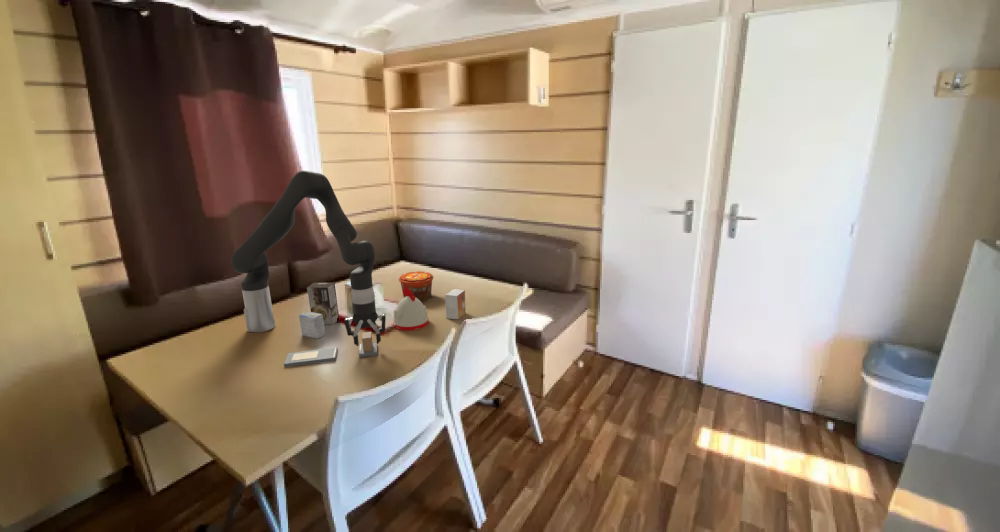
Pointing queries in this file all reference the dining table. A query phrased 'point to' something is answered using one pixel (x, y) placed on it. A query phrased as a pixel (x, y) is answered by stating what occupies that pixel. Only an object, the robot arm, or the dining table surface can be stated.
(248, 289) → the robot arm
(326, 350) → the ticket
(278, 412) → the dining table surface
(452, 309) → the small box
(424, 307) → the kitchen timer
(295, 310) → the dining table surface
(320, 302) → the coffee box
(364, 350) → the stub
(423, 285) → the food container
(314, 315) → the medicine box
